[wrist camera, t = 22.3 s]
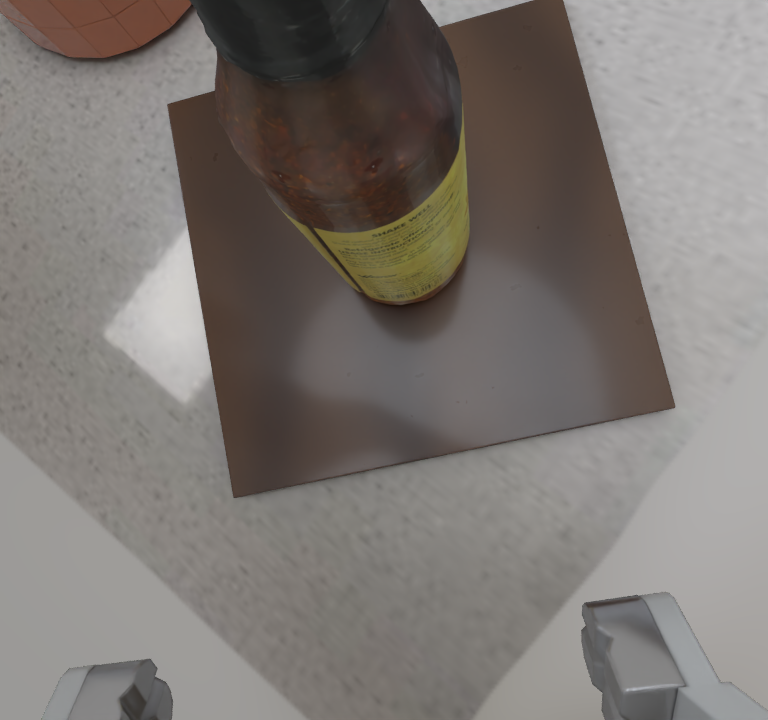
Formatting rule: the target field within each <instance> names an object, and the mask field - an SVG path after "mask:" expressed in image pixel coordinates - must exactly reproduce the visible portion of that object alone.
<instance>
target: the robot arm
mask: <svg viewBox="0 0 768 720" xmlns="http://www.w3.org/2000/svg"><path fill="white" fill-rule="evenodd" d="M582 616H583V619H584V622H585V624H586V626H585V627H584V628H583V629H582V630H581V631H582V647H583V653H584V658H585V662H586V665H587V669H588V672H589V675H590V678H591V681H592V684H593V685H594V686H595V687H596V688H597V689H599V690H600V691H601V692H602V693H603V694H602V712H603V715H604V718H605V720H768V710H766V709H765V708H764V707H763V706H761V705H760V704H759V703H757V702H756V701H755V700H753V699H752V698H751V697H749V696H748V695H747V694H745V693H744V692H743V691H741V690H740V689H739V688H737V687H736V686H735V685H733V684H732V683H731V682H720V680H719V678H718V676H717V674H716V673H715V671H714V669H713V667H712V665H711V663H710V662H709V660H708V658H707V656H706V655H705V653H704V651H703V649H702V647H701V645H700V644H699V642H698V640H697V638H696V636H695V634H694V633H693V631H692V629H691V627H690V625H689V624H688V622H687V620H686V618H685V616H684V615H683V613H682V611H681V609H680V607H679V605H678V604H677V602H676V600H675V598H674V597H673V596H672V595H671V594H670V593H668V592H661V593H654V594H647V595H640V596H638V595H634V596H627V597H621V598H615V599H607V600H600V601H593V602H586V603H584V604H583V606H582ZM156 671H157V667H156V666H155V664H154V663H153V662H152V660H151V659H145V660H136V661H127V662H119V663H111V664H102V665H91V666H83V667H77V668H69V669H68V670H67V671H66V672H65V674H64V675H63V676H62V677H61V678H60V680H59V682H58V684H57V687H56V689H55V691H54V693H53V695H52V697H51V699H50V701H49V703H48V706H47V708H46V710H45V712H44V714H43V717H42V718H41V720H172V708H173V699H172V695H171V691H170V688H169V686H168V685H167V683H166V682H165V681H163V680H161V679H159V678H157V677H155V675H156Z"/></svg>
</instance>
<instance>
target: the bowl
mask: <svg viewBox="0 0 768 720" xmlns="http://www.w3.org/2000/svg"><path fill="white" fill-rule="evenodd" d="M191 5H192V3H191V2H190V1H189V0H0V12H1V13H2V14H3V15H4V16H5V17H6V18H8V19H9V20H10V21H11V22H12V23H13V24H14V25H15V26H16V27H18V28H19V29H20V30H21V31H22V32H23V33H24V34H25V35H27V36H28V37H29V38H30V39H31V40H32V41H33V42H34V43H36V44H37V45H39V46H41V47H44V48H46V49H49V50H52V51H54V52H57V53H60V54H62V55H65V56H68V57H83V58H106V57H110V56H113V55H117V54H120V53H123V52H127V51H130V50H133V49H137V48H139V47H141V46H143V45H144V44H146V43H147V42H149V41H151V40H152V39H154V38H155V37H157V36H158V35H160V34H161V33H163V32H165V31H166V30H168V29H169V28H171V27H172V26H173V25H174V24H175V23H176V22H177V21H178V19H179V18H180V17H181V16H182V15H183V14H184V13H185V11H186V10H187V9H188V8H189V7H190V6H191Z"/></svg>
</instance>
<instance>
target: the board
mask: <svg viewBox="0 0 768 720" xmlns="http://www.w3.org/2000/svg"><path fill="white" fill-rule="evenodd" d="M439 28H440V30H441V31H442V33H443V34H444V36H445V38H446V40H447V42H448V44H449V46H450V48H451V50H452V53H453V56H454V59H455V62H456V65H457V68H458V73H459V78H460V83H461V91H462V103H463V112H464V133H465V151H466V169H467V189H468V204H469V227H470V232H469V239H468V244H467V248H466V253H465V256H464V260H463V263H462V265H461V267H460V268H459V270H458V271H457V273H456V275H455V276H454V277H453V278H452V279H451V281H450V282H449V283H448V284H447V285H446V286H444V288H443V289H442V290H441V291H439V292H438V293H436V294H435V295H434V296H433V297H431V298H429V299H427V300H424V301H419V302H416V303H409V304H403V305H390V304H385V303H381V302H376V301H374V300H371V299H370V298H369V297H367V296H366V295H365V294H364V293H362V292H358V291H357V290H356V289H354V288H353V287H352V286H350V285H349V284H348V283H347V282H346V281H345V279H344V278H343V277H342V276H341V275H340V274H339V273H338V272H337V271H336V270H335V269H334V267H333V266H332V265H331V264H330V263H329V262H328V261H327V260H326V259H325V258H324V257H323V256H322V254H321V253H320V252H319V251H318V250H317V249H316V248H315V247H314V246H313V244H312V243H311V242H310V241H309V240H308V239H307V238H306V237H305V235H304V234H303V233H302V232H301V231H300V230H299V229H298V228H297V227H296V226H295V225H294V224H293V223H292V221H291V220H290V219H289V218H288V217H287V216H286V215H285V214H284V213H283V212H282V210H281V209H280V208H279V207H278V206H277V205H276V204H275V203H274V201H273V200H272V198H271V197H270V196H269V194H268V193H267V191H266V189H265V188H264V186H263V184H262V182H261V181H260V180H259V179H258V177H257V176H256V175H255V174H254V173H253V172H252V171H251V170H250V169H249V168H248V166H247V165H246V164H245V163H244V161H243V160H242V159H241V157H240V156H239V155H238V153H237V152H236V151H235V149H234V148H233V146H232V145H231V141H230V139H229V137H228V135H227V133H226V132H225V130H224V128H223V127H222V126H221V124H220V123H219V121H218V114H217V110H216V98H215V91H212V92H209V93H205V94H202V95H198V96H195V97H191V98H188V99H184V100H181V101H177V102H174V103H170V104H168V105H167V106H168V112H169V118H170V124H171V129H172V135H173V141H174V147H175V153H176V159H177V165H178V171H179V177H180V183H181V189H182V195H183V201H184V207H185V213H186V218H187V224H188V230H189V236H190V242H191V248H192V254H193V260H194V266H195V272H196V278H197V284H198V290H199V296H200V301H201V307H202V313H203V319H204V325H205V331H206V337H207V343H208V349H209V355H210V361H211V367H212V373H213V379H214V385H215V390H216V396H217V402H218V408H219V414H220V420H221V426H222V432H223V438H224V444H225V450H226V456H227V462H228V468H229V473H230V479H231V485H232V491H233V497H234V498H237V497H242V496H246V495H251V494H256V493H261V492H266V491H271V490H276V489H281V488H286V487H291V486H295V485H300V484H305V483H310V482H315V481H320V480H325V479H330V478H335V477H339V476H344V475H349V474H354V473H359V472H364V471H369V470H374V469H379V468H384V467H388V466H393V465H398V464H403V463H408V462H413V461H418V460H423V459H428V458H432V457H437V456H442V455H447V454H452V453H457V452H462V451H467V450H472V449H476V448H481V447H486V446H491V445H496V444H501V443H506V442H511V441H516V440H521V439H525V438H530V437H535V436H540V435H545V434H550V433H555V432H560V431H565V430H569V429H574V428H579V427H584V426H589V425H594V424H599V423H604V422H609V421H614V420H618V419H623V418H628V417H633V416H638V415H643V414H648V413H653V412H658V411H662V410H667V409H672V408H675V403H674V399H673V396H672V392H671V389H670V385H669V381H668V378H667V374H666V370H665V367H664V363H663V360H662V356H661V352H660V349H659V345H658V342H657V338H656V334H655V331H654V327H653V323H652V320H651V316H650V313H649V309H648V305H647V302H646V298H645V295H644V291H643V287H642V284H641V280H640V276H639V273H638V269H637V266H636V262H635V258H634V255H633V251H632V248H631V244H630V240H629V237H628V233H627V229H626V226H625V222H624V219H623V215H622V211H621V208H620V204H619V201H618V197H617V193H616V190H615V186H614V182H613V179H612V175H611V172H610V168H609V164H608V161H607V157H606V154H605V150H604V146H603V143H602V139H601V136H600V132H599V128H598V125H597V121H596V117H595V114H594V110H593V107H592V103H591V99H590V96H589V92H588V89H587V85H586V81H585V78H584V74H583V70H582V67H581V63H580V60H579V56H578V52H577V49H576V45H575V42H574V38H573V34H572V31H571V27H570V23H569V20H568V16H567V13H566V9H565V5H564V2H563V0H533V1H529V2H526V3H522V4H519V5H515V6H512V7H508V8H505V9H501V10H498V11H494V12H491V13H487V14H484V15H480V16H477V17H473V18H470V19H466V20H462V21H459V22H455V23H452V24H448V25H445V26H441V27H439Z"/></svg>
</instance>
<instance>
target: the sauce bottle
mask: <svg viewBox="0 0 768 720" xmlns="http://www.w3.org/2000/svg"><path fill="white" fill-rule="evenodd" d="M189 1H190V2H191V3H192V5H193V6H194V7H195V9H196V10H197V14H198V16H199V18H200V20H201V21H202V23H203V25H204V28H205V32H206V34H207V35H208V37H209V38H210V40H211V41H212V42H213V44H214V45H215V46H216V50H217V68H216V78H215V98H216V110H217V114H218V121H219V123H220V124H221V126H222V127H223V128H224V130H225V132H226V133H227V135H228V137H229V139H230V141H231V145H232V146H233V148H234V149H235V151H236V152H237V153H238V155H239V156H240V157H241V159H242V160H243V161H244V163H245V164H246V165H247V166H248V168H249V169H250V170H251V171H252V172H253V173H254V174H255V175H256V176H257V177H258V179H259V180H260V181H261V182H262V184H263V186H264V188H265V189H266V191H267V193H268V194H269V196H270V197H271V198H272V200H273V201H274V203H275V204H276V205H277V206H278V207H279V208H280V209H281V210H282V212H283V213H284V214H285V215H286V216H287V217H288V218H289V219H290V220H291V221H292V223H293V224H294V225H295V226H296V227H297V228H298V229H299V230H300V231H301V232H302V233H303V234H304V235H305V237H306V238H307V239H308V240H309V241H310V242H311V243H312V244H313V246H314V247H315V248H316V249H317V250H318V251H319V252H320V253H321V254H322V256H323V257H324V258H325V259H326V260H327V261H328V262H329V263H330V264H331V265H332V266H333V267H334V269H335V270H336V271H337V272H338V273H339V274H340V275H341V276H342V277H343V278H344V279H345V281H346V282H347V283H348V284H349V285H350V286H352V287H353V288H354V289H356V290H357V291H358V292H362V293H364V294H365V295H366V296H367V297H369V298H370V299H371V300H374V301H376V302H381V303H385V304H390V305H403V304H409V303H416V302H419V301H424V300H427V299H429V298H431V297H433V296H434V295H435V294H436V293H438V292H439V291H441V290H442V289H443V288H444V286H446V285H447V284H448V283H449V282H450V281H451V279H452V278H453V277H454V276H455V275H456V273H457V271H458V270H459V268H460V267H461V265H462V263H463V260H464V256H465V253H466V248H467V244H468V239H469V232H470V227H469V204H468V189H467V169H466V151H465V133H464V112H463V103H462V91H461V83H460V78H459V73H458V68H457V65H456V62H455V59H454V56H453V53H452V50H451V48H450V46H449V44H448V42H447V40H446V38H445V36H444V34H443V33H442V31H441V30H440V28H439V27H438V25H437V24H436V22H435V21H434V19H433V18H432V17H431V15H430V14H429V12H428V11H427V9H426V8H425V7H424V5H423V4H422V2H421V1H420V0H189Z"/></svg>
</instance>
